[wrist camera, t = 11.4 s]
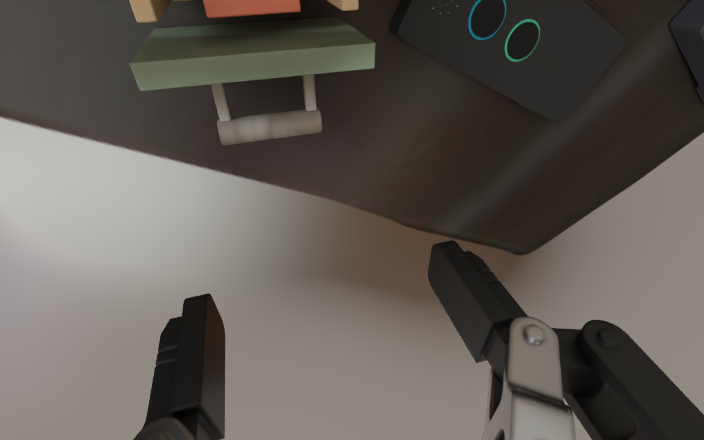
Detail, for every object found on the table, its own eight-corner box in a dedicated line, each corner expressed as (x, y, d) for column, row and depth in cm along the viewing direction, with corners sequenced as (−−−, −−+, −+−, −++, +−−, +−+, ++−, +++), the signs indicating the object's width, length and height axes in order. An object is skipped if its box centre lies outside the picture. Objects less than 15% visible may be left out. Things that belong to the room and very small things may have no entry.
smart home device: (464, -111, 20) (632, 39, 29) (449, -108, 21) (614, 35, 30) (394, 39, 23) (562, 128, 33) (385, 33, 25) (549, 120, 34)
